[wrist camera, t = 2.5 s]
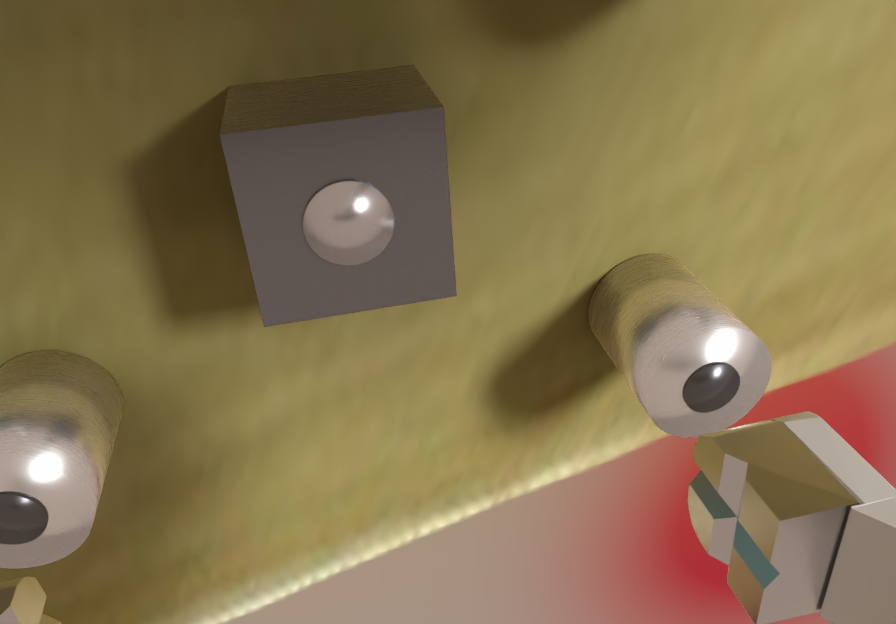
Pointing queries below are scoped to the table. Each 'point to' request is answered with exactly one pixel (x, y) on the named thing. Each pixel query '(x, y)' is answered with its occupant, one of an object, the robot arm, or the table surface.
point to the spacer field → (610, 317)
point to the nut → (341, 192)
